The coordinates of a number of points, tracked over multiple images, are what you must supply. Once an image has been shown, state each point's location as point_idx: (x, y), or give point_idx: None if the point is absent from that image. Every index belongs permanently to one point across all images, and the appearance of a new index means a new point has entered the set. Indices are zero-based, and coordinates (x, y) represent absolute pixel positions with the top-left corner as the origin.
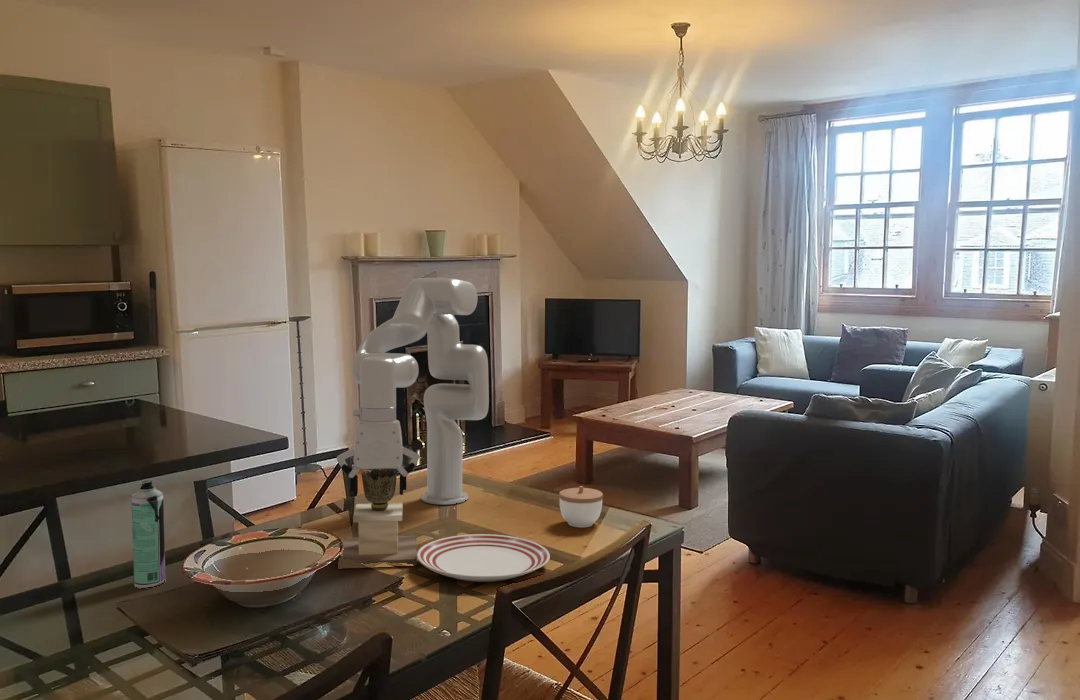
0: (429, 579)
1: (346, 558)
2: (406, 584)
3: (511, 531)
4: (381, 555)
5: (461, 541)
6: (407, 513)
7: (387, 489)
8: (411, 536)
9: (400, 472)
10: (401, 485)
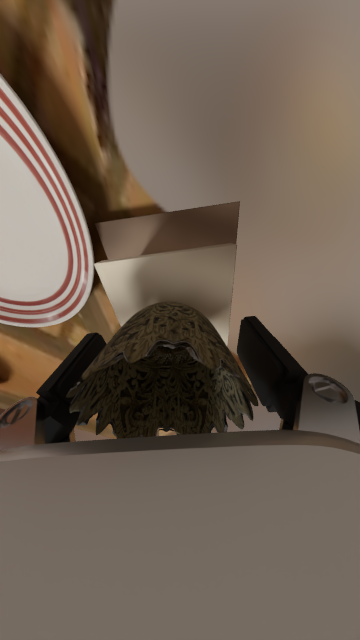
0: (37, 122)
1: (223, 228)
2: (72, 70)
3: (43, 358)
4: (163, 246)
5: (60, 308)
6: None
7: (123, 326)
8: None
9: (32, 420)
10: (73, 356)
